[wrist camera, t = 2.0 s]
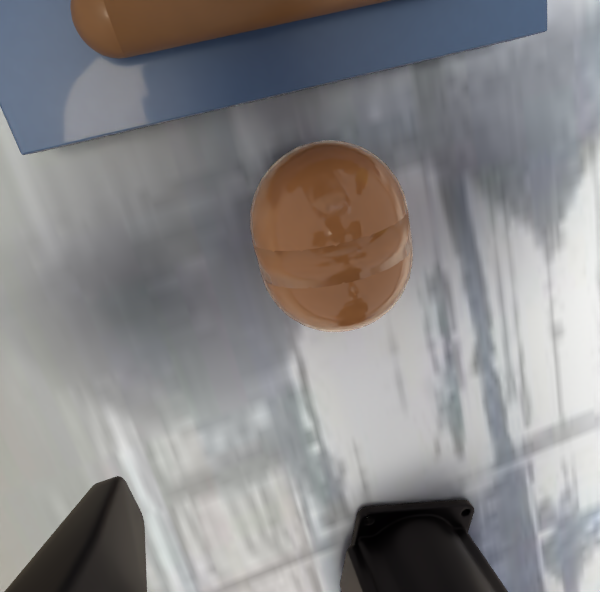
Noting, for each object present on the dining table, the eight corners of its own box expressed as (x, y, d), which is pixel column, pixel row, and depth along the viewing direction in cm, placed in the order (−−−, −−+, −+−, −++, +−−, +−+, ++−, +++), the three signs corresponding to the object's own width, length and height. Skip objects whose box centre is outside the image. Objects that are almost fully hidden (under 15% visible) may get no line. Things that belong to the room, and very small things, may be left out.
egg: (361, 123, 17) (428, 122, 12) (386, 281, 20) (450, 331, 15) (225, 157, 16) (239, 170, 12) (268, 316, 19) (294, 380, 14)
